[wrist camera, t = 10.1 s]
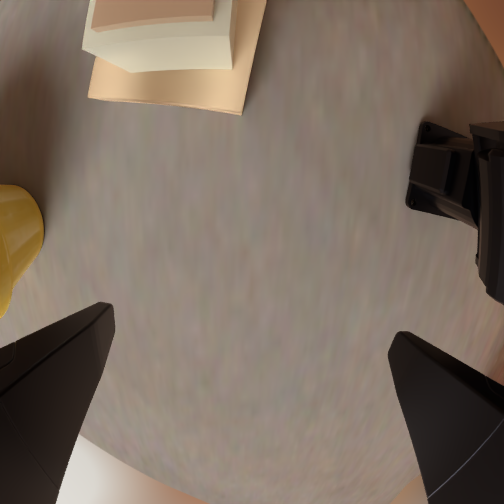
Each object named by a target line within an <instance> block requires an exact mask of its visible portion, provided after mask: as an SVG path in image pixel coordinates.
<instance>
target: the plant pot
mask: <svg viewBox="0 0 504 504" xmlns="http://www.w3.org/2000/svg"><path fill="white" fill-rule="evenodd" d="M43 238H44V226H43V220H42V215H41V212H40V210H39V207H38V205H37V203H36V202H35V200H34V199H33V197H32V196H31V195H30V194H29V193H28V192H27V191H26V190H25V189H23V188H21V187H19V186H16V185H0V319H1V317H2V316H3V315H4V314H5V312H6V311H7V309H8V306H9V304H10V300H11V296H12V290H13V288H14V287H15V285H16V284H17V282H18V281H19V280H20V278H21V277H22V275H23V274H24V273H25V271H26V270H27V268H28V267H29V266H30V265H31V263H32V262H33V261H34V259H35V258H36V257H37V255H38V254H39V252H40V250H41V247H42V244H43Z"/></svg>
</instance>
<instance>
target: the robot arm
mask: <svg viewBox="0 0 504 504" xmlns="http://www.w3.org/2000/svg"><path fill="white" fill-rule="evenodd" d="M425 126H427V127H428V130H427V131H426V130H425ZM469 126H470V133H471V134H472V136H473V139H469V138H467V137H465V136H462V135H460V134H458V133H455V132H453V131H451V130H448V129H446V128H443V127H441V126H438V125H436V124H433V123H431V122H427V121H424V122H422V123H421V124H420V126H419V133H418V139H417V145H416V146H415V150H414V156H413V161H412V166H411V172H410V177H409V180H410V183H409V187H408V192H407V196H406V205H407V207H409V208H411V209H413V210H418V211H422V212H427V213H431V214H435V215H439V216H443V217H448V218H452V219H456V220H460V221H462V222H464V223H466V224H468V225H470V226H472V227H473V228H475V229H477V230H478V248H477V254H476V260H475V263H476V265H477V266H478V271H479V277H480V278H481V280H482V282H483V283H484V285H485V286H486V293H487V294H488V295H489V296H490V297H492V298H493V299H494V300H496V301H497V302H499V303H501V304H503V305H504V121H502V122H488V123H476V124H469ZM413 199H414V203H413V204H412V205H411V201H412V200H413ZM114 334H115V319H114V309H113V305H112V304H110V303H105V302H98V303H96V304H94V305H92V306H89V307H87V308H85V309H83V310H81V311H79V312H76V313H74V314H72V315H70V316H68V317H66V318H64V319H61V320H59V321H57V322H55V323H53V324H51V325H49V326H46V327H44V328H42V329H40V330H38V331H36V332H34V333H32V334H30V335H27V336H25V337H23V338H21V339H19V340H17V341H16V342H13V343H11V344H8V345H6V346H4V347H2V348H0V504H56V501H57V497H58V494H59V490H60V487H61V484H62V481H63V477H64V474H65V471H66V468H67V465H68V462H69V459H70V456H71V454H72V451H73V448H74V445H75V442H76V440H77V437H78V434H79V431H80V429H81V426H82V423H83V421H84V418H85V416H86V413H87V411H88V408H89V405H90V403H91V400H92V398H93V396H94V393H95V391H96V388H97V386H98V383H99V381H100V379H101V376H102V373H103V370H104V367H105V364H106V360H107V357H108V353H109V350H110V347H111V344H112V340H113V337H114ZM388 360H389V364H390V368H391V372H392V376H393V381H394V385H395V389H396V393H397V396H398V400H399V403H400V406H401V409H402V412H403V415H404V418H405V421H406V424H407V427H408V430H409V434H410V437H411V440H412V444H413V447H414V450H415V454H416V457H417V461H418V464H419V468H420V472H421V476H422V479H423V483H424V486H425V491H426V495H427V498H428V499H427V500H428V504H504V386H503V385H501V384H499V383H497V382H496V381H494V380H492V379H490V378H489V377H487V376H485V375H483V374H482V373H480V372H478V371H477V370H475V369H473V368H471V367H470V366H468V365H466V364H465V363H463V362H461V361H459V360H458V359H456V358H454V357H452V356H451V355H449V354H447V353H446V352H444V351H442V350H440V349H439V348H437V347H435V346H433V345H432V344H430V343H428V342H426V341H425V340H423V339H421V338H419V337H418V336H416V335H414V334H413V333H411V332H408V331H399V332H397V334H396V335H395V337H394V340H393V342H392V344H391V346H390V349H389V351H388Z"/></svg>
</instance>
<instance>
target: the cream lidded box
mask: <svg viewBox="0 0 504 504" xmlns="http://www.w3.org/2000/svg"><path fill="white" fill-rule="evenodd" d="M237 4H238V0H90V4H89V9H88V14H87V19H86V25H85V31H84V37H83V44H82V49H83V50H85V51H87V52H89V53H91V54H93V55H95V56H98V57H100V58H102V59H104V60H106V61H108V62H110V63H112V64H114V65H116V66H118V67H120V68H122V69H124V70H126V71H128V72H130V73H136V72H147V71H162V70H185V69H228V70H232V69H233V55H234V41H235V28H236V16H237Z"/></svg>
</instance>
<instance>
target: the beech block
mask: <svg viewBox="0 0 504 504" xmlns="http://www.w3.org/2000/svg"><path fill="white" fill-rule="evenodd" d="M266 3H267V0H238V4H237V16H236V28H235V41H234V55H233V69H232V70H228V69H185V70H162V71H147V72H136V73H130V72H128V71H126V70H124V69H122V68H120V67H118V66H116V65H114V64H112V63H110V62H108V61H106V60H104V59H102V58H100V57H98V56H96V59H95V63H94V68H93V72H92V77H91V82H90V87H89V92H88V98H94V99H100V100H105V101H119V102H136V103H150V104H161V105H171V106H180V107H189V108H197V109H204V110H211V111H218V112H224V113H231V114H237V115H242V111H243V106H244V101H245V96H246V92H247V87H248V82H249V77H250V73H251V68H252V64H253V59H254V54H255V50H256V46H257V41H258V37H259V32H260V28H261V24H262V19H263V15H264V11H265V7H266Z"/></svg>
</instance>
